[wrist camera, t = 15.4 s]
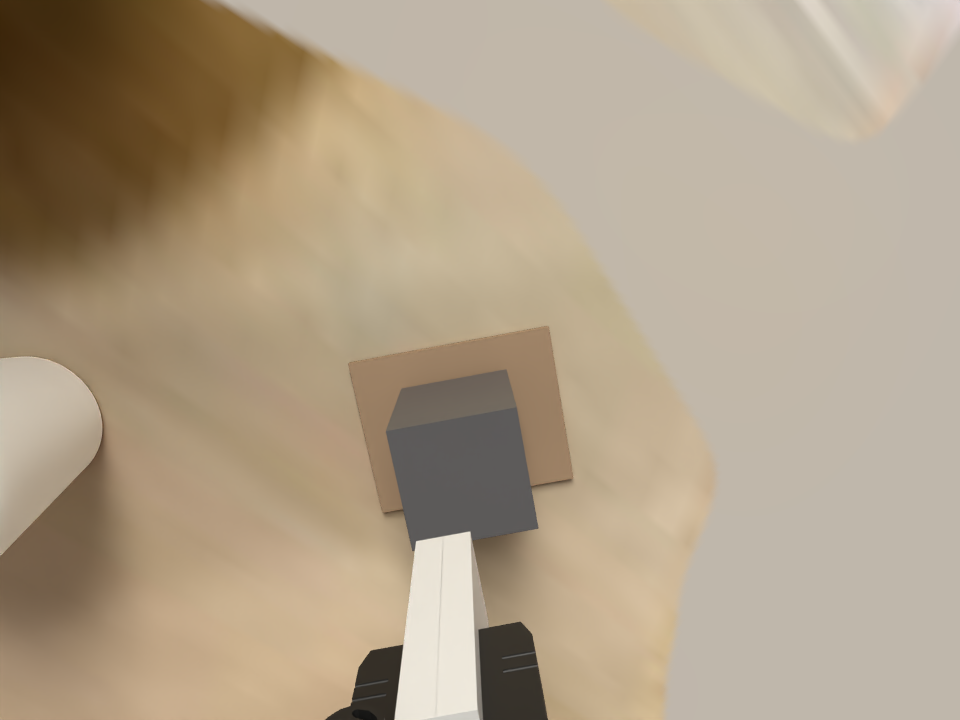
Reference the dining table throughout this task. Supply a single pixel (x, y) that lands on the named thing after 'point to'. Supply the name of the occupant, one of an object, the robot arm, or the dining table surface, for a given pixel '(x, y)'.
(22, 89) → the dining table surface
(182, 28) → the dining table surface
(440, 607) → the robot arm
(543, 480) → the teal post on base
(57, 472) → the cup
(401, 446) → the charcoal cuboid
